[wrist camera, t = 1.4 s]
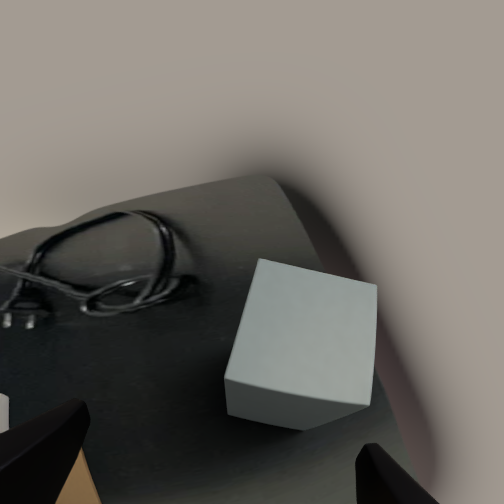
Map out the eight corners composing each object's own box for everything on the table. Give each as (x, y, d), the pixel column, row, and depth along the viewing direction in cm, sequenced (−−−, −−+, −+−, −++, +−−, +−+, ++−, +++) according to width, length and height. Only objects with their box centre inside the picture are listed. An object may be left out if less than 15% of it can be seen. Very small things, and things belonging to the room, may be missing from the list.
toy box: (304, 430, 20) (370, 406, 10) (227, 414, 20) (223, 378, 11) (317, 360, 23) (377, 284, 14) (246, 345, 24) (258, 257, 15)
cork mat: (118, 538, 13) (116, 540, 12) (34, 538, 10) (31, 538, 10) (79, 439, 17) (76, 438, 17) (4, 448, 15) (1, 447, 14)
